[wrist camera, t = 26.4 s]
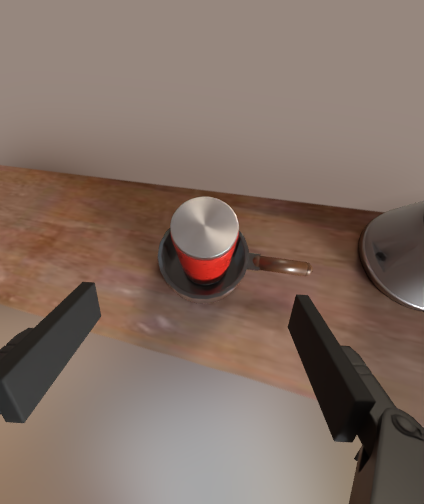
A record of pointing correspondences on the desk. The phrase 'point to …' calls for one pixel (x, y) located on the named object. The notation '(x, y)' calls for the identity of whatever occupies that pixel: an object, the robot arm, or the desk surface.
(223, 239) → the tomato can
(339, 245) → the desk surface
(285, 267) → the skillet handle
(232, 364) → the desk surface
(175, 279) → the skillet
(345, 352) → the robot arm
